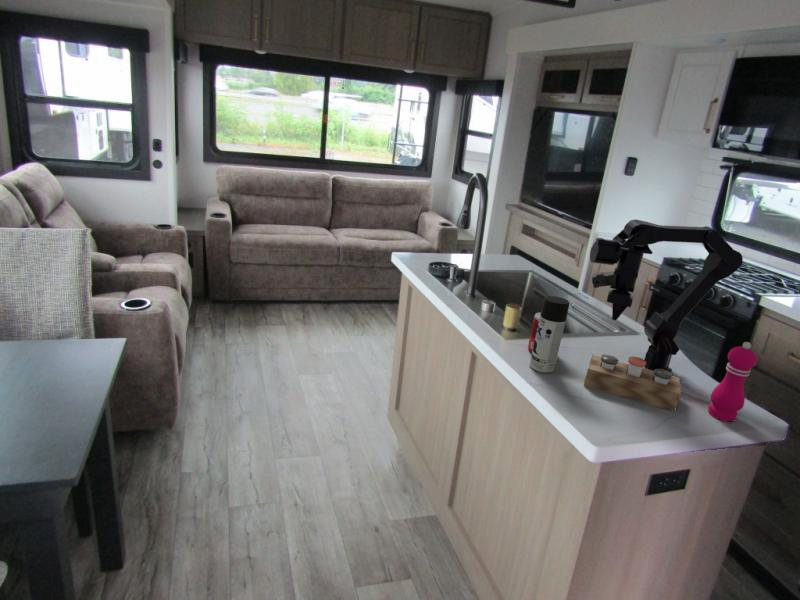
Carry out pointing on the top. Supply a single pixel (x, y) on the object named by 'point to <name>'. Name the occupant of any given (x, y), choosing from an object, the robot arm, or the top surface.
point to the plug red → (635, 366)
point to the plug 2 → (662, 376)
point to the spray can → (549, 334)
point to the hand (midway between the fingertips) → (614, 319)
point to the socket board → (633, 384)
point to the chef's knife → (694, 394)
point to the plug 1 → (608, 361)
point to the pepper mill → (732, 384)
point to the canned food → (534, 331)
